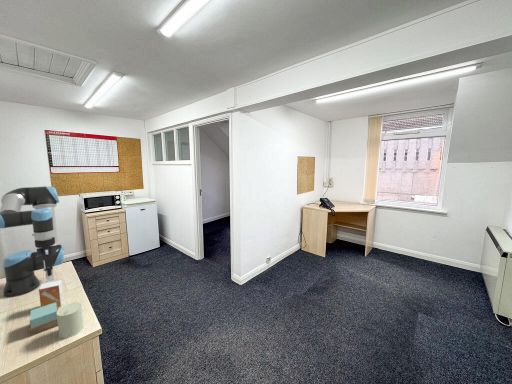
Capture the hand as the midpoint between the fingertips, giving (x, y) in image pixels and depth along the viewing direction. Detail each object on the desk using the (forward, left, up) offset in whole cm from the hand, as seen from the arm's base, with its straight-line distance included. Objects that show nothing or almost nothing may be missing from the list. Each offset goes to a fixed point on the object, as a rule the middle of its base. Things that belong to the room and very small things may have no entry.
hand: (49, 275), depth 113 cm
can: (+28, +6, -19) cm, 34 cm away
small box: (-1, 0, -19) cm, 19 cm away
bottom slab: (+15, -3, -19) cm, 24 cm away
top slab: (+15, -3, -15) cm, 21 cm away
